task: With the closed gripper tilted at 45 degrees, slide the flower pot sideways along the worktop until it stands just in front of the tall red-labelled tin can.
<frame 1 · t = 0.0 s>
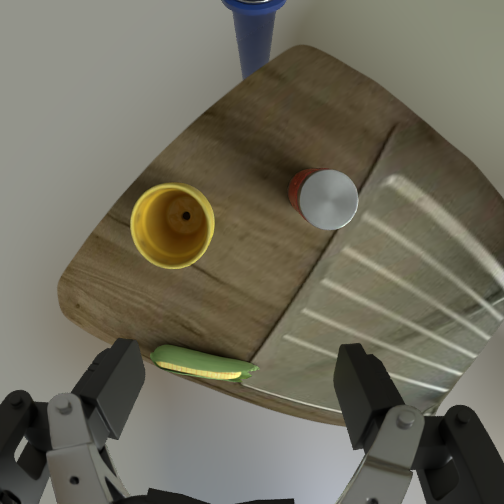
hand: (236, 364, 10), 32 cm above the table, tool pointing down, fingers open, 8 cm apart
tin can: (309, 191, 39), on the table
edible corn: (206, 357, 48), on the table
flower pot: (187, 214, 41), on the table
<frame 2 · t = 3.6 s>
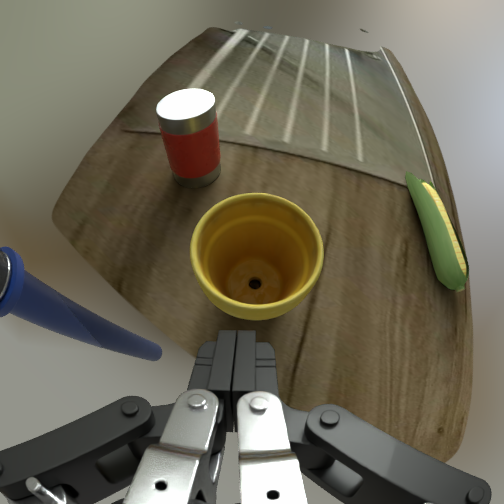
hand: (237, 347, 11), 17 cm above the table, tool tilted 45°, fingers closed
tin can: (197, 170, 37), on the table
edible corn: (428, 231, 34), on the table
flower pot: (253, 287, 30), on the table
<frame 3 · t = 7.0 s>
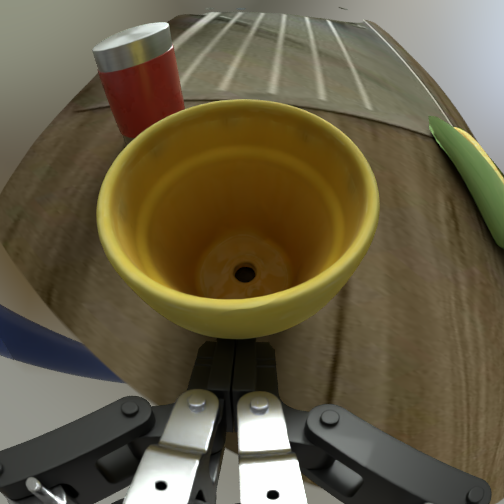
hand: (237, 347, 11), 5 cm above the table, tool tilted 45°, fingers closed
tin can: (156, 133, 25), on the table
edible corn: (469, 187, 23), on the table
flower pot: (244, 280, 18), on the table, touching gripper
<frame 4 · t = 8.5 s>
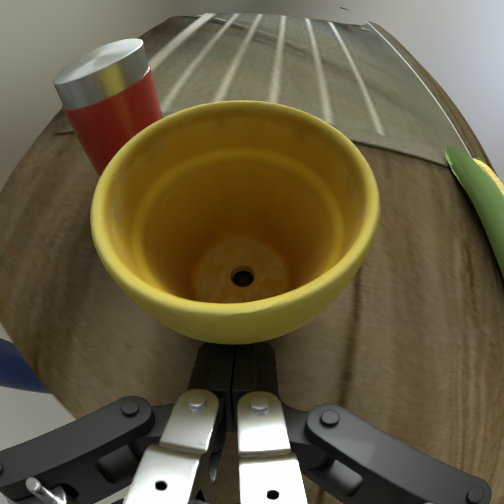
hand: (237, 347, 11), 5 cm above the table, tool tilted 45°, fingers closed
tin can: (138, 169, 23), on the table
edible corn: (486, 227, 20), on the table
flower pot: (241, 285, 18), on the table, touching gripper
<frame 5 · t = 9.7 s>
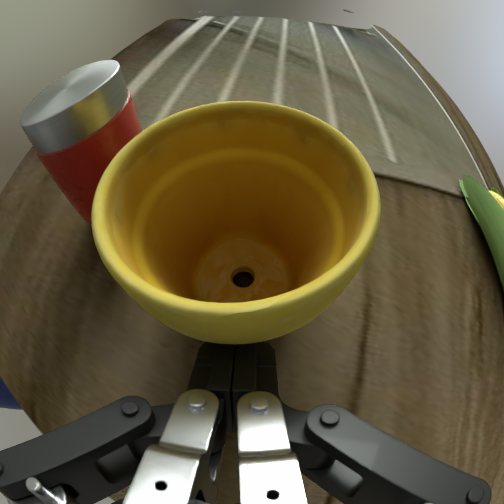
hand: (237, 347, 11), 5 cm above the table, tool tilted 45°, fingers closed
tin can: (125, 205, 21), on the table
edible corn: (498, 265, 18), on the table
flower pot: (242, 286, 18), on the table, touching gripper
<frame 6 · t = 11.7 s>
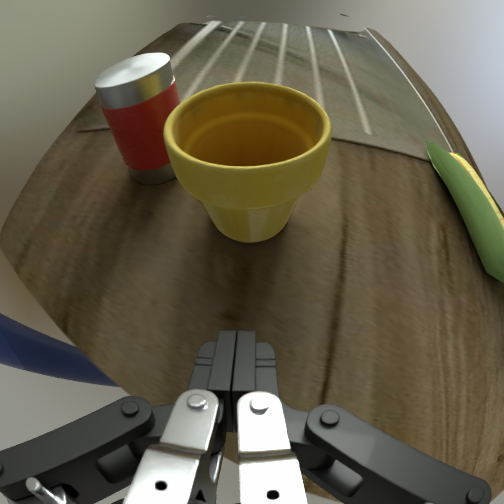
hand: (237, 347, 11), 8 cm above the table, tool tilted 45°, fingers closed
tin can: (160, 162, 27), on the table
edible corn: (463, 213, 24), on the table
flower pot: (250, 210, 24), on the table
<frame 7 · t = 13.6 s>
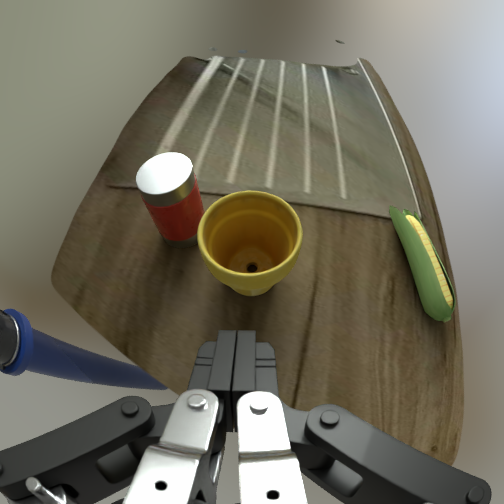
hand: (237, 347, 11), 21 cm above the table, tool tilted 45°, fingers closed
tin can: (184, 228, 39), on the table
edible corn: (414, 263, 36), on the table
flower pot: (251, 271, 36), on the table
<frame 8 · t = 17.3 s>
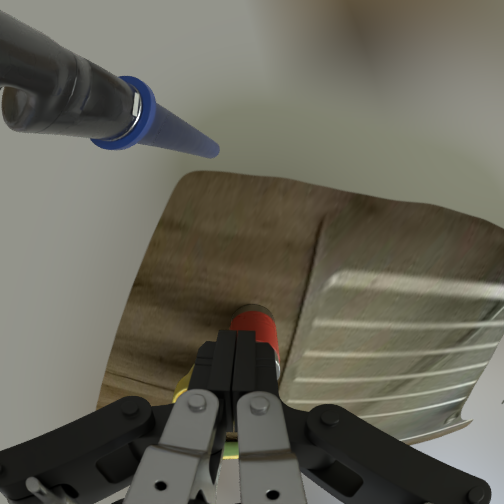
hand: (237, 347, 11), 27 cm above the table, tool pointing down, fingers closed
tin can: (252, 323, 41), on the table
edible corn: (227, 442, 51), on the table
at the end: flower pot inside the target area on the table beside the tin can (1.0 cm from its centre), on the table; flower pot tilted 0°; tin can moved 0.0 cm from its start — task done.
